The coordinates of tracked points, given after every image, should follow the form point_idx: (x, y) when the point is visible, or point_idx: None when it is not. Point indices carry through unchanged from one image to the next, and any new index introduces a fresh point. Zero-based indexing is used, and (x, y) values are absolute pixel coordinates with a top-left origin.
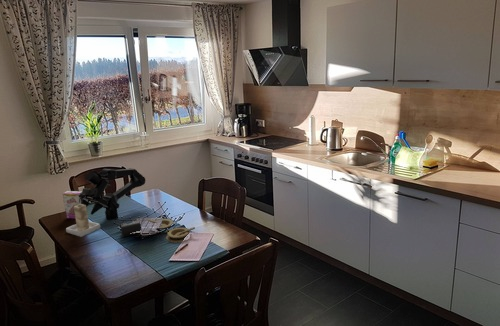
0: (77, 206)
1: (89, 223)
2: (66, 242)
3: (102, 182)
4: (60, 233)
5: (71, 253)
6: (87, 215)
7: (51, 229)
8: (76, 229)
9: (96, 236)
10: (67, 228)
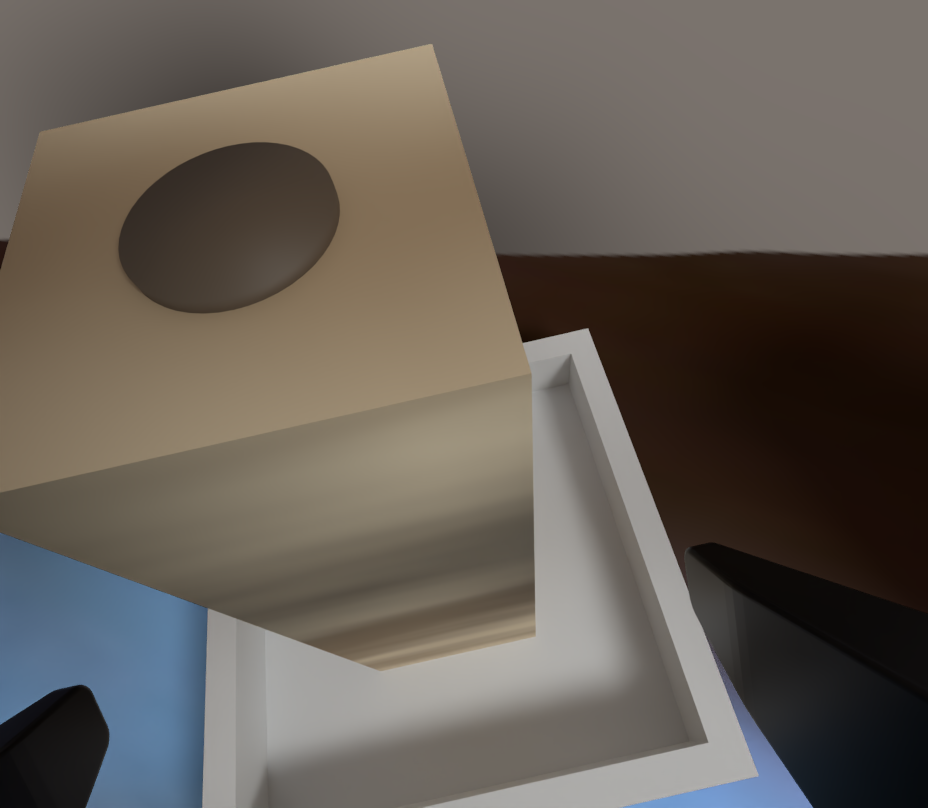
0: (275, 139)
1: (553, 773)
2: None
3: None
4: (614, 308)
5: (6, 244)
6: (265, 626)
7: (871, 269)
8: (534, 486)
9: (37, 609)
10: (557, 341)
